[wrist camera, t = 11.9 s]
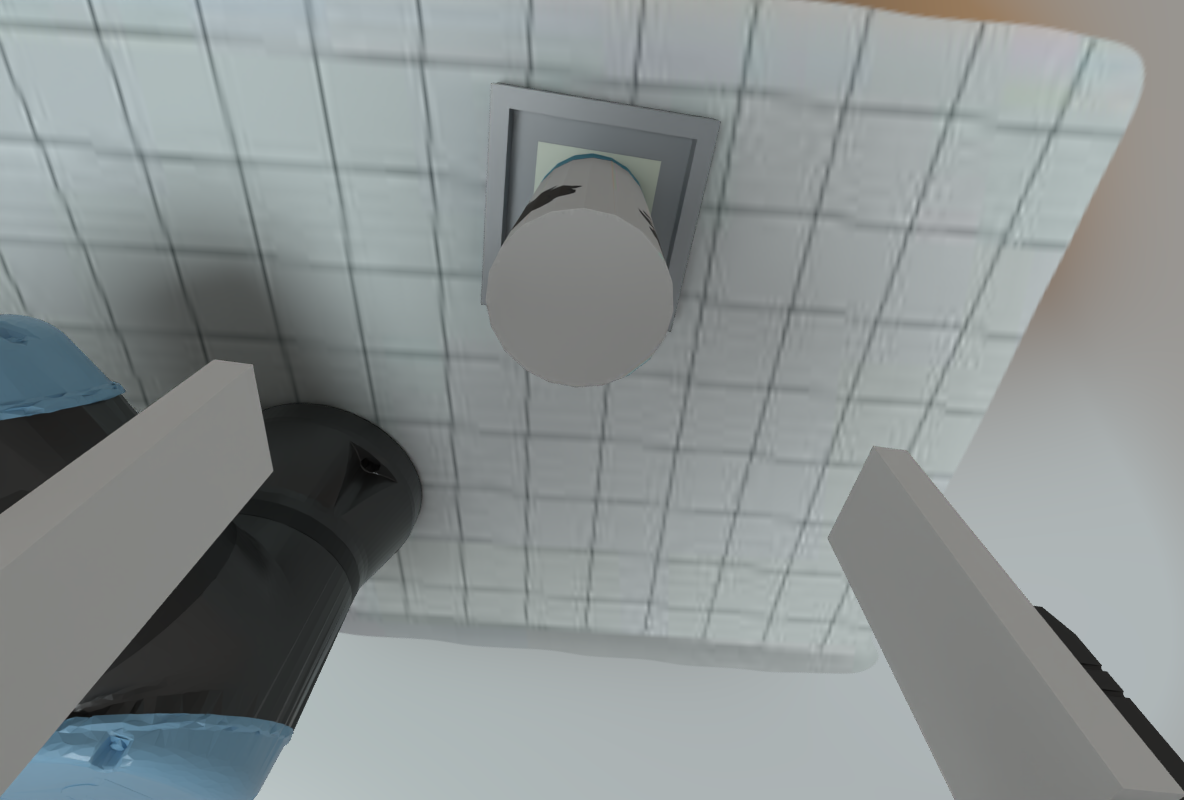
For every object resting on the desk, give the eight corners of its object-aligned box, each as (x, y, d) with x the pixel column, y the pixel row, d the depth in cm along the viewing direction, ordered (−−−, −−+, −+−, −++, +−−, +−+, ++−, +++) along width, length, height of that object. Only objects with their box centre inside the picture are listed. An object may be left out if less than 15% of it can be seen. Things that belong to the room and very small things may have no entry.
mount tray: (487, 292, 36) (481, 304, 34) (498, 82, 30) (491, 83, 28) (667, 318, 37) (670, 331, 35) (713, 118, 30) (720, 121, 29)
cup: (511, 222, 33) (449, 317, 20) (581, 125, 30) (562, 162, 17) (597, 291, 35) (593, 417, 22) (670, 206, 32) (714, 293, 19)
